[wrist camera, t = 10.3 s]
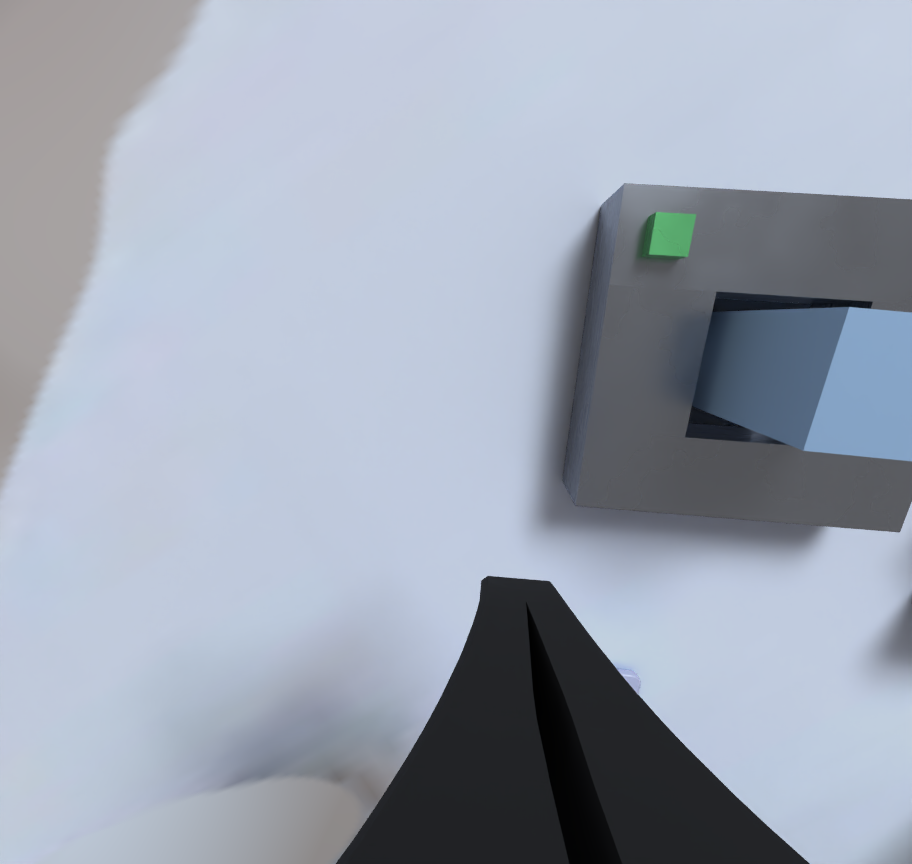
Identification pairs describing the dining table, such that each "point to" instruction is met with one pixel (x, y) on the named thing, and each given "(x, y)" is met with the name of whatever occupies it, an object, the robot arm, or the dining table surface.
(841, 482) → the port block
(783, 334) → the plug
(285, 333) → the dining table surface
